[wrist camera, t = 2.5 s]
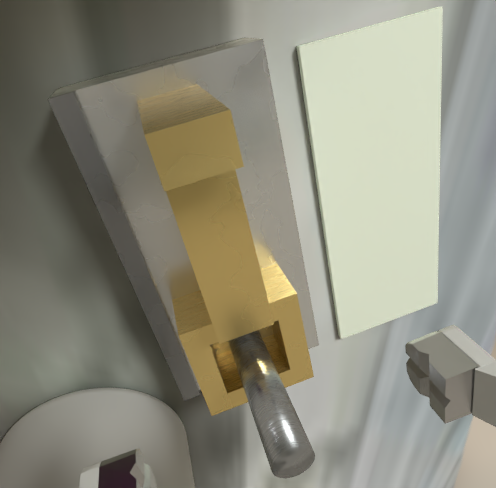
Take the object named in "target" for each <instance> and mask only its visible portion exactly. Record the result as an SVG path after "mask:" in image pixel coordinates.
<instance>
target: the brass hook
mask: <svg viewBox="0 0 496 488" xmlns="http://www.w3.org/2000/svg"><path fill="white" fill-rule="evenodd" d="M137 103H138V108H139V113H140V117H141V122H142V127H143V131H144V135H145V138H146V141H147V144H148V147H149V150H150V152H151V155H152V158H153V161H154V164H155V167H156V169H157V172H158V175H159V178H160V181H161V184H162V186H163V189H164V191H166V193H167V196H168V199H169V202H170V205H171V208H172V210H173V213H174V216H175V219H176V222H177V225H178V228H179V230H180V233H181V236H182V239H183V242H184V245H185V248H186V250H187V253H188V256H189V259H190V262H191V265H192V267H193V270H194V273H195V276H196V279H197V282H198V285H199V287H200V290H199V291H196V292H193V293H190V294H187V295H184V296H182V297H179V298H176V299H173V300H172V303H173V309H174V314H175V319H176V325H177V330H178V335H179V338H180V340H181V343H182V345H183V348H184V350H185V353H186V355H187V357H188V360H189V362H190V365H191V367H192V369H193V372H194V374H195V377H196V379H197V382H198V384H199V386H200V389H201V391H202V394H203V396H204V398H205V401H206V403H207V406H208V408H209V410H210V413H211V415H212V416H213V415H216V414H218V413H221V412H223V411H226V410H229V409H231V408H234V407H236V406H239V405H242V404H244V403H247V402H248V399H247V396H246V393H245V391H244V388H243V385H242V382H241V379H240V376H239V373H238V370H237V367H236V364H235V361H234V358H233V355H232V352H231V350H229V351H227V352H224V353H221V354H219V355H216V353H215V350H214V348H213V345H212V344H214V343H217V342H219V344H221V343H224V342H227V341H229V340H232V339H235V338H238V337H240V336H243V335H246V334H249V333H251V332H254V331H257V330H260V329H262V328H265V327H268V326H271V329H272V333H273V335H270V336H268V337H265V338H262V339H263V341H264V343H265V345H266V347H267V350H268V352H269V354H270V356H271V358H272V361H273V363H274V365H275V367H276V369H277V372H278V374H279V376H280V378H281V380H282V383H283V385H284V387H285V388H286V387H288V386H291V385H294V384H296V383H299V382H301V381H304V380H306V379H309V378H312V377H314V375H313V371H312V366H311V361H310V356H309V351H308V346H307V341H306V336H305V331H304V326H303V321H302V316H301V311H300V306H299V301H298V296H297V293H296V291H295V290H294V288H293V287H292V285H291V284H290V282H289V281H288V279H287V278H286V276H285V275H284V273H283V272H282V270H281V269H280V267H279V265H278V264H274V265H271V266H268V267H265V268H263V269H260V266H259V262H258V258H257V254H256V250H255V246H254V242H253V238H252V234H251V230H250V226H249V222H248V218H247V214H246V210H245V206H244V202H243V198H242V194H241V190H240V186H239V182H238V178H237V174H236V170H235V169H238V168H241V167H244V165H243V160H242V156H241V152H240V148H239V143H238V139H237V135H236V131H235V127H234V122H233V118H232V114H231V110H230V109H229V108H228V107H226V106H225V105H224V104H222V103H221V102H220V101H219V100H217V99H216V98H215V97H213V96H212V95H211V94H209V93H208V92H207V91H205V90H204V89H203V88H201V87H200V86H199V85H197V84H196V85H192V86H188V87H185V88H181V89H178V90H174V91H171V92H167V93H164V94H160V95H157V96H153V97H149V98H146V99H142V100H139V101H137Z"/></svg>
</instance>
